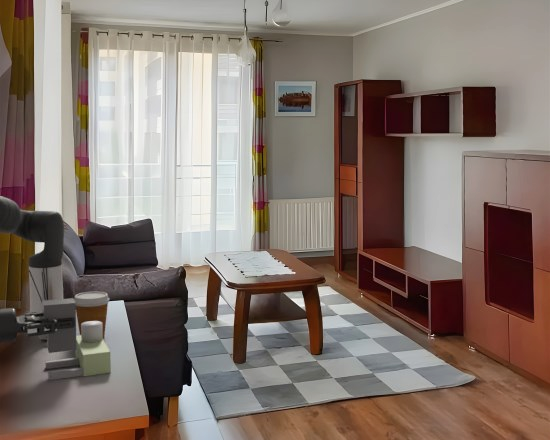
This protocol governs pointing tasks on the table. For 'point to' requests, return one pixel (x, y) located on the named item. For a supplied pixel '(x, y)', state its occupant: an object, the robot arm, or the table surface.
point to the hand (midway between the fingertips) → (73, 319)
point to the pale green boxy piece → (85, 354)
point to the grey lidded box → (61, 337)
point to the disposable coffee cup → (91, 308)
